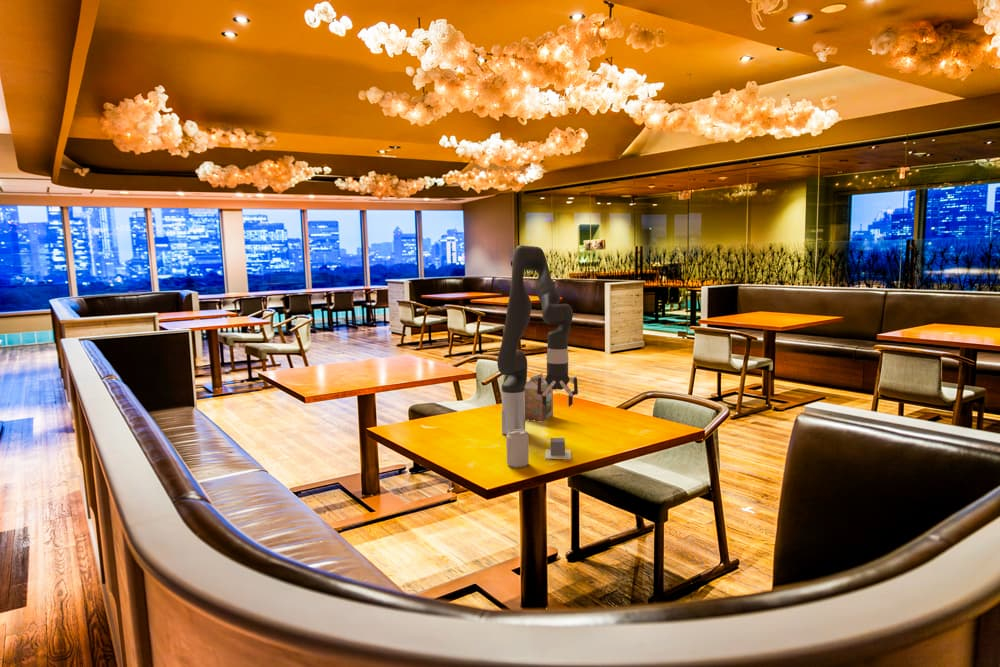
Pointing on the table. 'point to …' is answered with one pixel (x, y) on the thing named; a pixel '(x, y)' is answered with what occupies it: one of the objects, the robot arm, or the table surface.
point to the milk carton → (537, 400)
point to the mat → (567, 456)
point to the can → (517, 448)
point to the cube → (557, 446)
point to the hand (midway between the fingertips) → (557, 405)
